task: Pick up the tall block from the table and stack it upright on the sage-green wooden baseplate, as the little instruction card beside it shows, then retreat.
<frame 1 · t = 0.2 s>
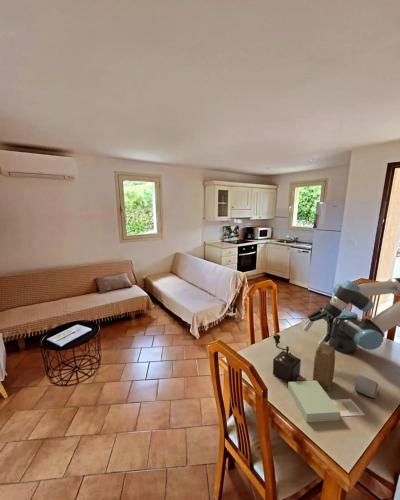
hand: (312, 337, 121), 16 cm above the table, tool tilted 35°, fingers open, 13 cm apart
baseplate: (311, 403, 99), on the table
dark brown coffee grinder: (282, 372, 118), on the table
instruction card: (346, 407, 96), on the table
grey cylinder: (365, 391, 105), on the table
block: (322, 383, 110), on the table
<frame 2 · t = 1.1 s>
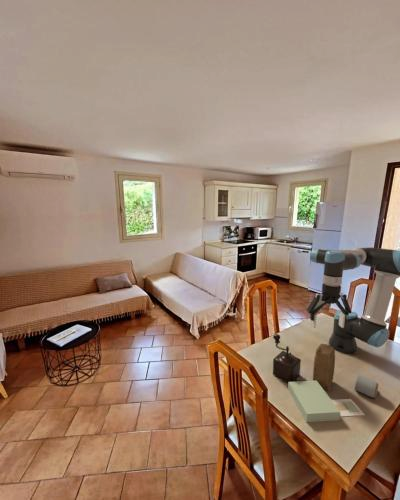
hand: (327, 326, 105), 30 cm above the table, tool pointing down, fingers open, 13 cm apart
nothing on the table moved.
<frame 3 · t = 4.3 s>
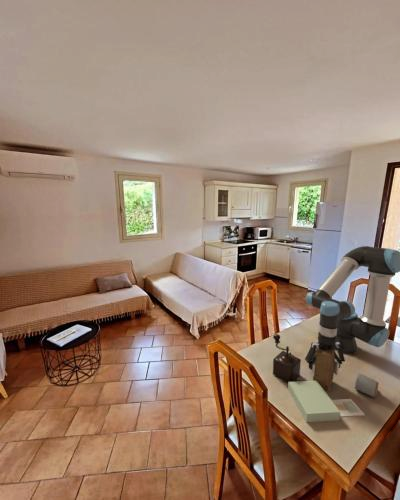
hand: (323, 374, 109), 5 cm above the table, tool pointing down, fingers closed on block, 11 cm apart
block: (322, 383, 110), on the table, touching gripper
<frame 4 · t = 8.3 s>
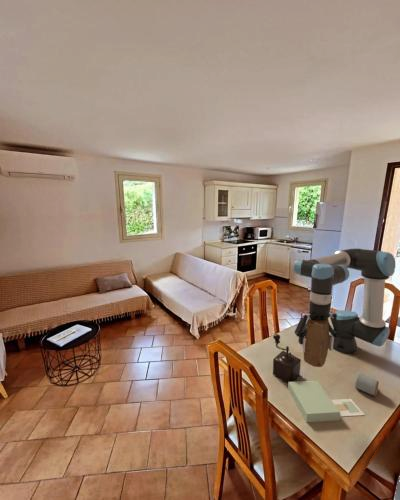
hand: (315, 349, 94), 27 cm above the table, tool pointing down, fingers closed on block, 11 cm apart
block: (315, 361, 95), point 21 cm above the table, touching gripper
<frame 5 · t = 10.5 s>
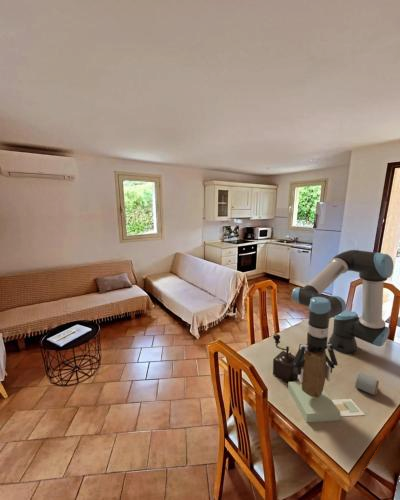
hand: (313, 379, 96), 12 cm above the table, tool pointing down, fingers closed on block, 11 cm apart
block: (312, 390, 97), point 7 cm above the table, touching gripper
when the fingers open (11 cm above the table, at t = 12.1 s): block drops 1 cm, resting on baseplate.
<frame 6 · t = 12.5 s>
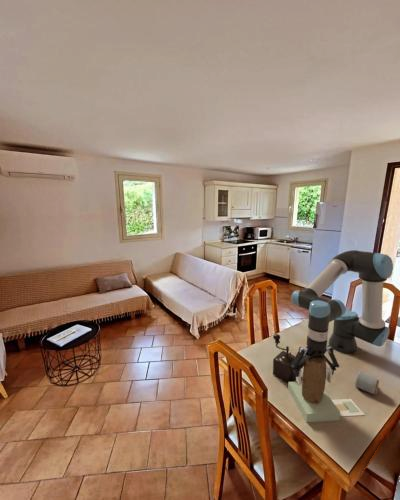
hand: (313, 381, 97), 11 cm above the table, tool pointing down, fingers open, 13 cm apart
block: (313, 395, 98), point 4 cm above the table, touching baseplate
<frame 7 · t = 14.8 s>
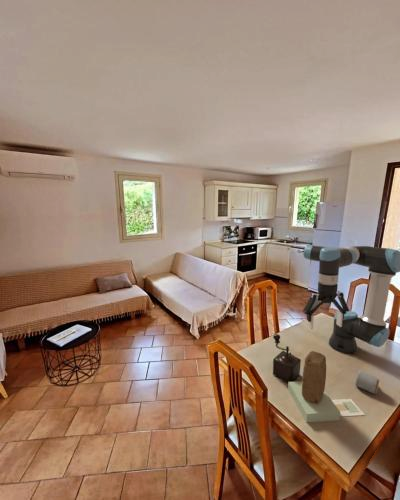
hand: (324, 326, 101), 33 cm above the table, tool pointing down, fingers open, 13 cm apart
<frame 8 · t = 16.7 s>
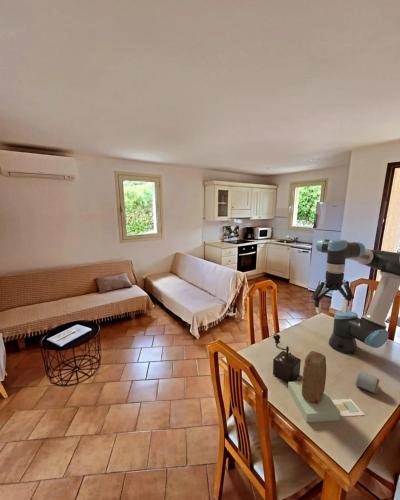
hand: (331, 312, 110), 35 cm above the table, tool pointing down, fingers open, 13 cm apart
at the end: block 0.4 cm from the baseplate (horizontally); block tilted 0°; block touching baseplate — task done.
